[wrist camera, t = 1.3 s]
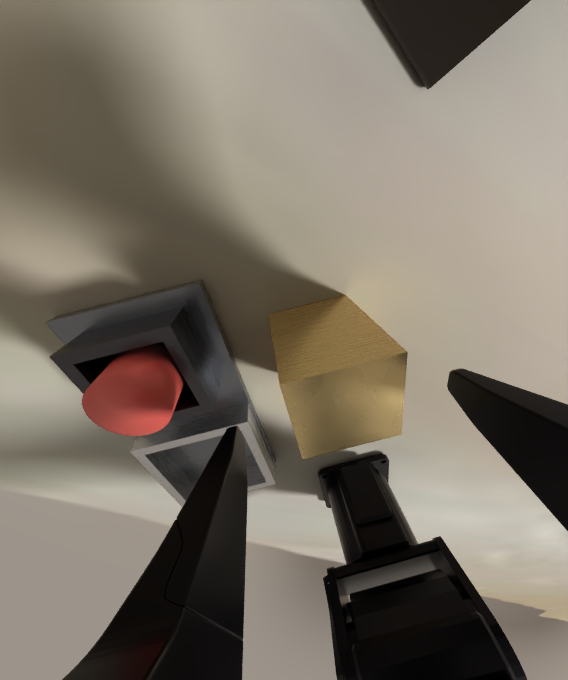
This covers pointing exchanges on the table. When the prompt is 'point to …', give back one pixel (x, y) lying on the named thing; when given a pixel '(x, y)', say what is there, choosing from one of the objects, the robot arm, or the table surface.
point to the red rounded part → (135, 392)
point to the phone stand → (443, 30)
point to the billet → (338, 375)
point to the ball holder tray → (197, 369)
